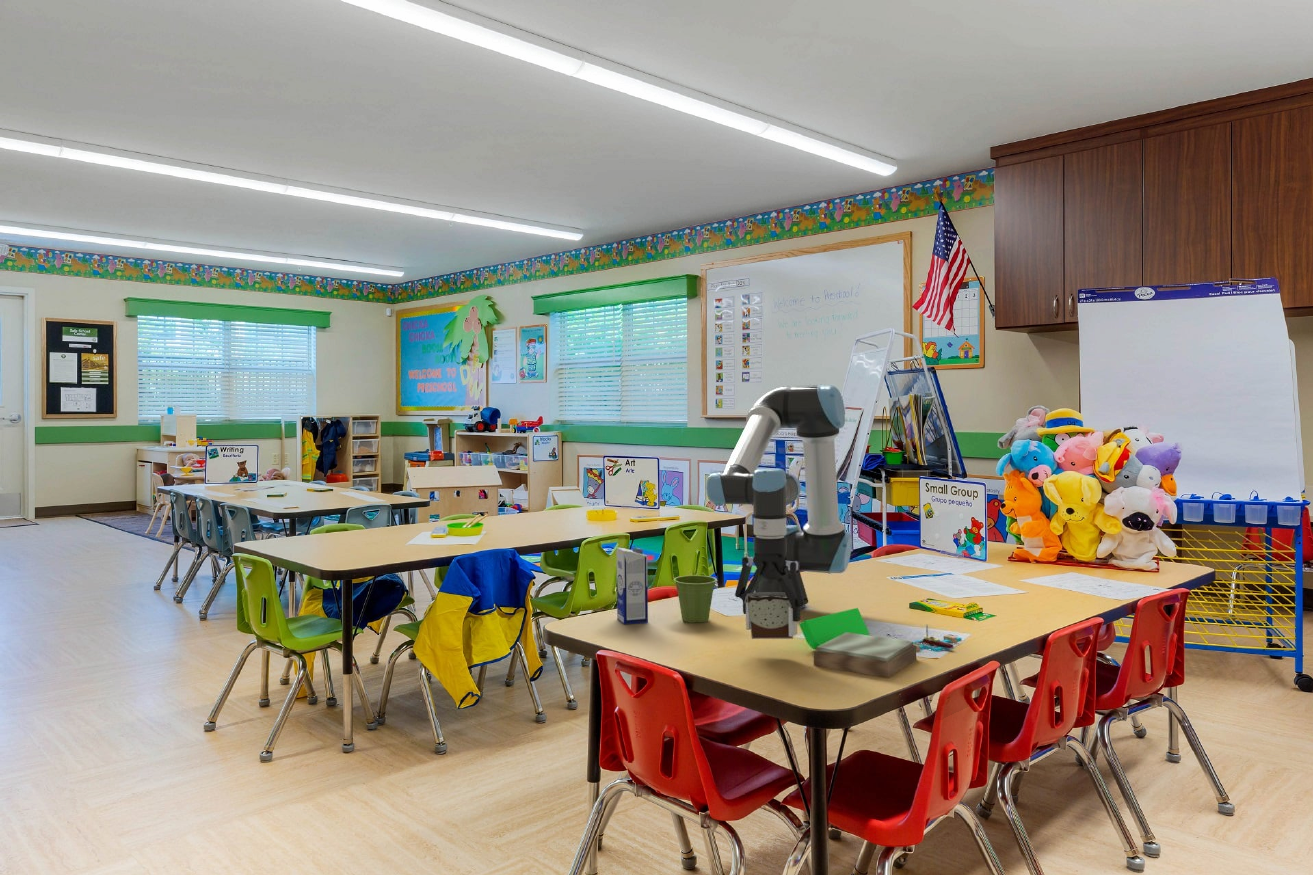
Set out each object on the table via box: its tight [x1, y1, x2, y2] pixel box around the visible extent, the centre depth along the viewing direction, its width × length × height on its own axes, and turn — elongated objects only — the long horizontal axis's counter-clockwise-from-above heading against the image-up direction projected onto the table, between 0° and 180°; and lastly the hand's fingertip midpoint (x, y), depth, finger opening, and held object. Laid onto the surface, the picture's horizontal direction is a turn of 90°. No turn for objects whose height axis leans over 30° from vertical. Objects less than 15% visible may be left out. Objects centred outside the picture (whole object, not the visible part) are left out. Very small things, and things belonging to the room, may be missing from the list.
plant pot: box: [673, 574, 718, 624], centre depth 233 cm, size 12×12×11 cm
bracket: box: [798, 607, 871, 651], centre depth 210 cm, size 20×10×7 cm, turn 130°
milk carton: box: [616, 546, 649, 625], centre depth 234 cm, size 7×7×20 cm
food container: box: [745, 592, 794, 640], centre depth 199 cm, size 12×6×10 cm, turn 89°
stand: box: [813, 632, 917, 679], centre depth 191 cm, size 17×17×4 cm
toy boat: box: [912, 623, 962, 653], centre depth 204 cm, size 20×5×9 cm
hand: (771, 631), depth 198 cm, fingers closed on food container, 10 cm apart
